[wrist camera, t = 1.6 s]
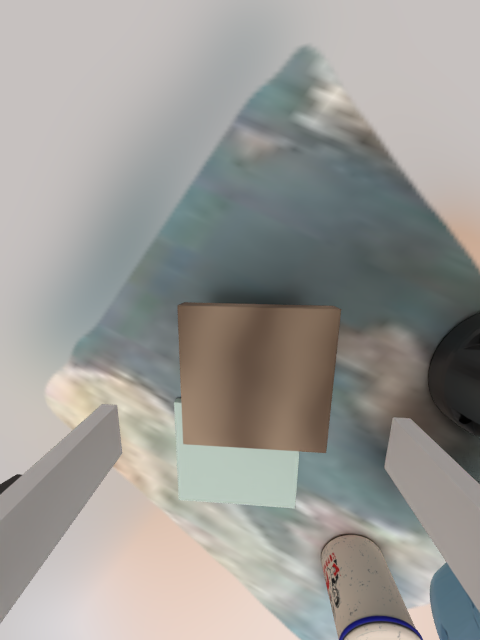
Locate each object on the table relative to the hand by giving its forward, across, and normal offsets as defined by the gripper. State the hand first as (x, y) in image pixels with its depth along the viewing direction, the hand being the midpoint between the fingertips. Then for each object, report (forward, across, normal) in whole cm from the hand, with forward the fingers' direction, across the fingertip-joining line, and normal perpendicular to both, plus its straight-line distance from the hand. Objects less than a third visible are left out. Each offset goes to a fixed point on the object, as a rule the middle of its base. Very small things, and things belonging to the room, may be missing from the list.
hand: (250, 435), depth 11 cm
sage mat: (+17, +2, +16) cm, 24 cm away
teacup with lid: (+17, -15, +34) cm, 41 cm away
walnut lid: (+7, 0, 0) cm, 7 cm away
